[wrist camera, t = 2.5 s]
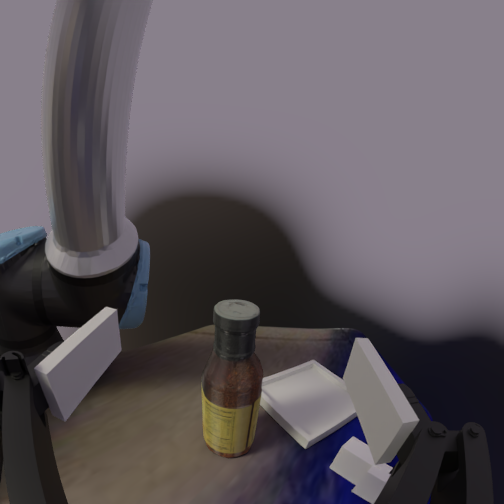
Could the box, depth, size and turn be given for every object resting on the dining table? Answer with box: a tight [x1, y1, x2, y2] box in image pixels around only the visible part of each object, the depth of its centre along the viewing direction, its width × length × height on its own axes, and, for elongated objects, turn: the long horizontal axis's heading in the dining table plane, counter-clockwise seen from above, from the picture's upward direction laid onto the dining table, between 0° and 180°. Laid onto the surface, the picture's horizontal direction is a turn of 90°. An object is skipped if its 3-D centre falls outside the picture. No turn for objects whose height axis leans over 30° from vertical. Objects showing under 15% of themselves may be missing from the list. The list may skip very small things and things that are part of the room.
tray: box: [260, 360, 357, 449], centre depth 37 cm, size 14×14×2 cm
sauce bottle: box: [201, 300, 263, 458], centre depth 26 cm, size 6×6×20 cm
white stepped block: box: [329, 437, 393, 504], centre depth 21 cm, size 15×11×6 cm
